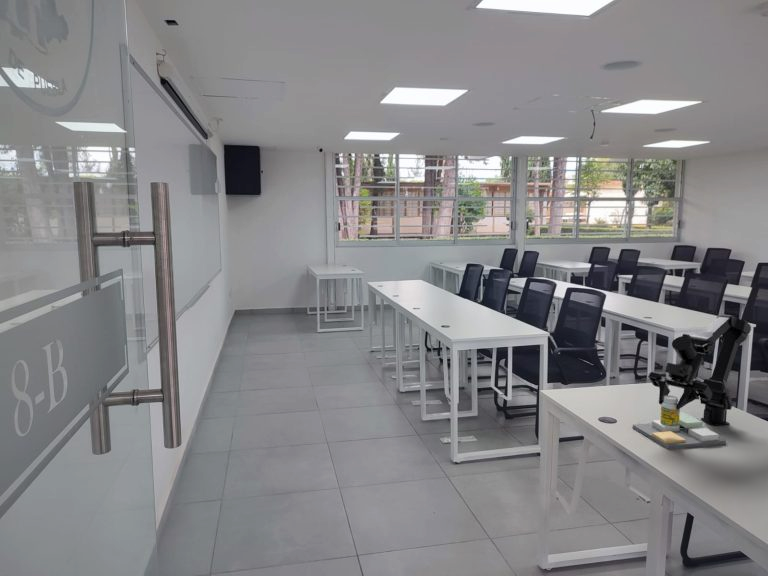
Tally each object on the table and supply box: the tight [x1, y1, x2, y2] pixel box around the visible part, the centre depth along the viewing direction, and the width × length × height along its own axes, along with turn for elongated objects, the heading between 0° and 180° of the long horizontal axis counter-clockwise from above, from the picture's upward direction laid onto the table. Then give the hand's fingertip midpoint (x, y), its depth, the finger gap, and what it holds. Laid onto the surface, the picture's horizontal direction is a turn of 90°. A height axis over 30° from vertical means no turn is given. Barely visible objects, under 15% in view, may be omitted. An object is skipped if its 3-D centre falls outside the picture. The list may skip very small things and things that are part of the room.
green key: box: [679, 410, 704, 428], centre depth 183 cm, size 6×12×3 cm, turn 9°
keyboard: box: [632, 419, 727, 450], centre depth 178 cm, size 21×18×3 cm
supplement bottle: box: [660, 394, 681, 428], centre depth 172 cm, size 5×5×10 cm
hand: (668, 406), depth 171 cm, fingers closed on supplement bottle, 5 cm apart
